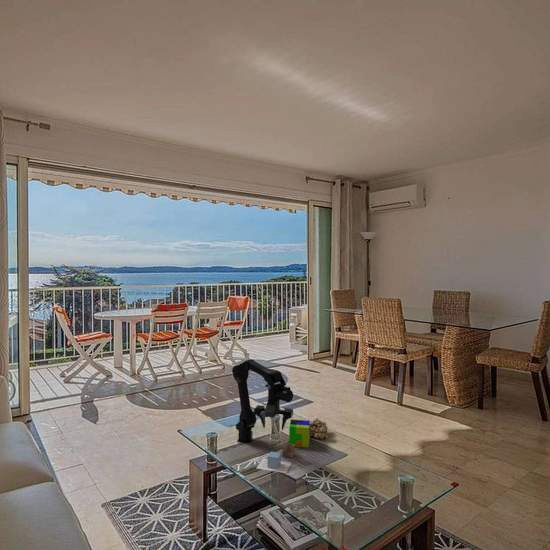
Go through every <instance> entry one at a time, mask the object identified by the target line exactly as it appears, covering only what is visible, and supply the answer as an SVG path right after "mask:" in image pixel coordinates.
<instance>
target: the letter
mask: <svg viewBox="0 0 550 550" xmlns="http://www.w3.org/2000/svg"><path fill="white" fill-rule="evenodd" d="M267 459H268V458H261V460H260V462H259V463H258V465H257V466H256V469H257V470H264V471H271V472H276V473H277V472H278V473H282V474H283V473H284V474H287V473H288V471H289V468H291V465H292V462H289V461H282V460H281V464H280V466H279V468H278V469H275V468H269V467H267Z"/></svg>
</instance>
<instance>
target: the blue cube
mask: <svg viewBox="0 0 550 550" xmlns="http://www.w3.org/2000/svg"><path fill="white" fill-rule="evenodd" d="M266 459H267V467H269V468H275V469H278V468H279V466H280V464H281V461H282V452H276V451H270V452H269V453H268V455H267V458H266Z"/></svg>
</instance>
